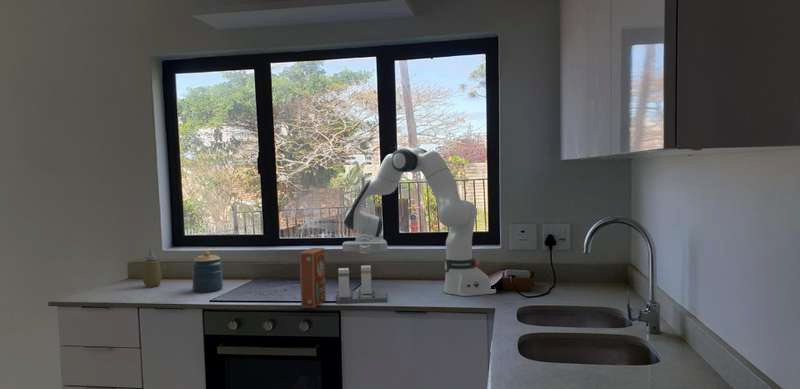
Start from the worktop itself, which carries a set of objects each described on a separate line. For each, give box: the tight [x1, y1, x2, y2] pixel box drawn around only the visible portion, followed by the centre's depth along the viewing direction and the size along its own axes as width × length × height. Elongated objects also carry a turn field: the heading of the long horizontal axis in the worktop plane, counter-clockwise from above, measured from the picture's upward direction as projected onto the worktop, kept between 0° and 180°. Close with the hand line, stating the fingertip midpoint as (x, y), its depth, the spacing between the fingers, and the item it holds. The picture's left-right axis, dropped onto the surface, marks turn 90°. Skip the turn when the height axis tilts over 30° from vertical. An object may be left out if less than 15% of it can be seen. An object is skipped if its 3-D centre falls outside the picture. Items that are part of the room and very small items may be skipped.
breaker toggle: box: [360, 265, 372, 294], centre depth 201 cm, size 4×4×11 cm
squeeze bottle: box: [142, 248, 163, 288], centre depth 230 cm, size 8×8×18 cm
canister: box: [191, 250, 224, 293], centre depth 221 cm, size 13×13×18 cm
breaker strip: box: [335, 267, 388, 305], centre depth 199 cm, size 20×14×13 cm
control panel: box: [299, 247, 327, 309], centre depth 192 cm, size 21×7×15 cm
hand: (365, 248), depth 213 cm, fingers closed
